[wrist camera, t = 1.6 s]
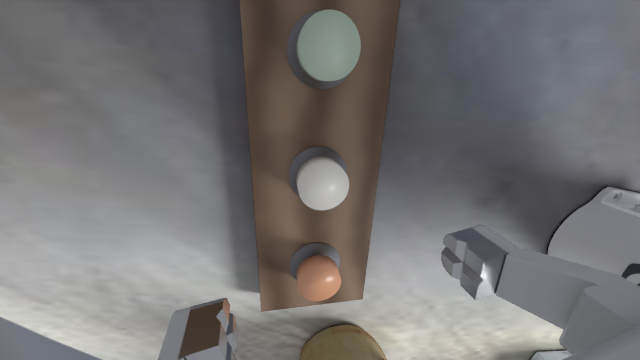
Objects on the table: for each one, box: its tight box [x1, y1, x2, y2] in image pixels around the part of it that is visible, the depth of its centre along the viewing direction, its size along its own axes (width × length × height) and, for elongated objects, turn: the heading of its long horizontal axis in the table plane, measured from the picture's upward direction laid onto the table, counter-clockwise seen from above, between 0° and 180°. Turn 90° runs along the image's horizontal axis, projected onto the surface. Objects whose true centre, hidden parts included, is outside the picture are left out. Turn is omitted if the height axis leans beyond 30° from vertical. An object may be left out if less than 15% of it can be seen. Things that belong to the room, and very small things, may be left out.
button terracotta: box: [296, 255, 341, 301], centre depth 29 cm, size 5×5×2 cm
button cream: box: [296, 157, 349, 210], centre depth 25 cm, size 5×5×2 cm
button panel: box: [240, 0, 400, 312], centre depth 28 cm, size 14×38×3 cm, turn 178°
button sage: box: [296, 10, 361, 81], centre depth 20 cm, size 5×5×2 cm
